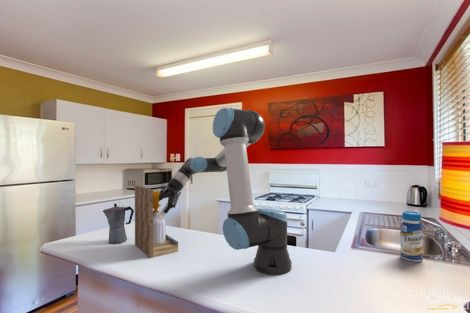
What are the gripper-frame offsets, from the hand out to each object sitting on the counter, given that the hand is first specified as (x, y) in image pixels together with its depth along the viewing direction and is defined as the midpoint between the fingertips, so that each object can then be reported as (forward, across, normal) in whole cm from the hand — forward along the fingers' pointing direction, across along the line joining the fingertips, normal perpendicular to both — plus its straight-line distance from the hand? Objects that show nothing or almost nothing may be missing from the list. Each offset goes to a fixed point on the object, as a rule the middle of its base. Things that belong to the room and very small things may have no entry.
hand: (151, 216), depth 129 cm
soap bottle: (+8, 0, -11) cm, 13 cm away
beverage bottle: (-39, -94, -62) cm, 119 cm away
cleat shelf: (+10, 0, -13) cm, 16 cm away
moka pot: (+16, +24, -7) cm, 29 cm away
